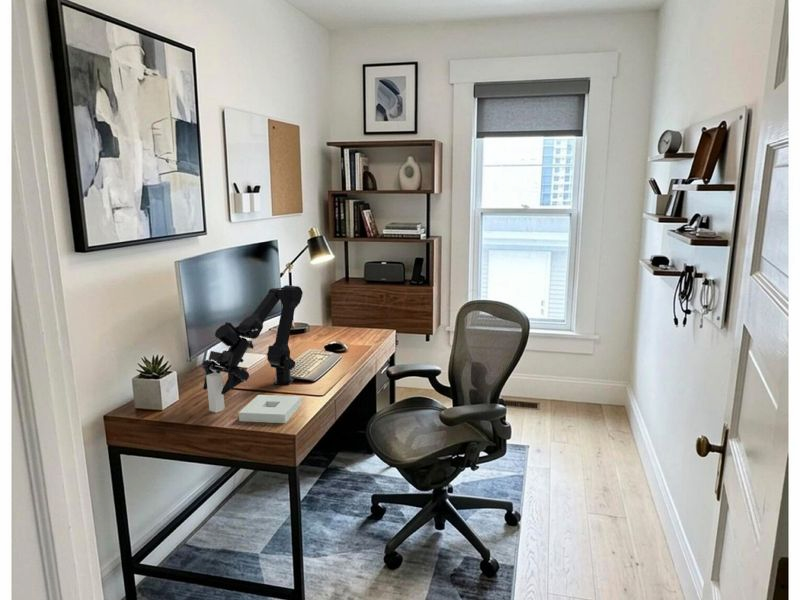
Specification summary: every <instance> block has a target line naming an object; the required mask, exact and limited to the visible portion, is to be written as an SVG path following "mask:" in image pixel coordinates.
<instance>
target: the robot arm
mask: <svg viewBox="0 0 800 600" xmlns="http://www.w3.org/2000/svg"><path fill="white" fill-rule="evenodd" d="M303 293H304V292H303V290H302V288H301V287H300V286H297V285H289V284H285V285H283V286H282V287H272V288H270V289H268V293H267V294H266V296H265V297H264V298H263V299H262V301H261V302H260V303H259V305H258V306H257V308H256V309H255V310H254V311H253V313H252V314H251V315H249V316H247V317H246V318H244V319H243V320H242V321H241V322H240V324H239V325H237V326H234V325H233V324H232V323H231V322H229V321H228V322H227V321H226V322H225V323H224V324H223V325H220V327H218V328H216V331H215V333H214V336H215V338H216V339H218V341H220V342H221V343H223V344H224V345H225V346H226V347H228V349H227V350H223V351H222V352H219V351H214V350H210V353H209V357H208V359H206V360H204V361H203V362H202V364H201V366H202V367H203V370H204V371H205V378H204V383H203V390H204V391H206V390H208V389H207V379H206V375H209V374H211V373H214V372H215V373H220V374H221V372H222V373H227V380H226V381H225V383H224V385H223V389H222V392H221V394H223V395H225V394H226V393H228V392H229V391H231V390H232V389H234V388H235V387H236V386H238V385H240V384H241V383H244V382H247V381H248V379H249V378H250V373H249V372H248V371H247V370H246V369H245V368H243V367H242V366H239V364H240V363H244V361H245V360H244V359H243V358H244V355H245V354H246V352H247V350H248V349H252V350H253V349H254V344H253V341H252V340H254V339H257V338H258V337H259V336H260V335H261V332H262V331H263V329H264V323H265V321H266V319H267V318H268V316H269V315H270V313H271V312H272V311H273V309H274V308H275V307H276V305H277V304H278V303H279V301H280V303H281V311H280V317H279V323H278V326H277V332H276V337H275V341H274V343H273V344H272V345H268V349H267V350H268V351H267V353H266V356H267V357H266V359H267V361H268V363H269V365H270V367H271V368H275V379H276V380H275V381H274V382H273V385H283V386H288V385H290V384H291V383H292V382H293V381H294V380H295V378H292V374H291V370H293V369H295V368H296V367H295V366H296V361H295V360H294V359H292V358H291V350H290V346H289V340H290V335H291V330H292V325H293V321H294V315H295V310H296V308H297V307H298V306H299V305H300V304H301V301H302V297H303V295H304V294H303ZM248 339H250V340H248ZM251 339H252V340H251Z"/></svg>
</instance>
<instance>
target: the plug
mask: <svg viewBox="0 0 800 600" xmlns="http://www.w3.org/2000/svg"><path fill="white" fill-rule="evenodd" d="M205 377H206V379H207V389H206V390H207V397H208V399H207V400H208V408H209V409H208V411H210V412H212V413H220V412H221V411H224V410H225V409H226V408H225V407H226V406H225V397H224V395H225V394H224V395H223V394H221V392H222V389H223V387H224V385H223V374H222V373H221V372H220V373H215V372H214V373H211V374H209V375H206V374H205Z"/></svg>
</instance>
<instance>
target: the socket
mask: <svg viewBox="0 0 800 600" xmlns="http://www.w3.org/2000/svg"><path fill="white" fill-rule="evenodd" d="M301 405H302V396H300V395H298V396H297V395H296V396H295V395H277V394H276V395H275V394H272V395H271V394H258V395H256V396H255V397H254V398H253V399H252V400H251V401H249V403H247V404H246V405H245V406H244V407H243V408H242V409H240V410H239V411H238V418H239V419H238V421H239V422H250V423H251V422H252V423H254V422H255V423H273V424H276V423H277V424H286V423H287V422H288V421H289V419H290V418H291V417H292V416H293V415H294V414H295V413H296V411H297V410H298V409H299V408H300V407H301Z"/></svg>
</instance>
